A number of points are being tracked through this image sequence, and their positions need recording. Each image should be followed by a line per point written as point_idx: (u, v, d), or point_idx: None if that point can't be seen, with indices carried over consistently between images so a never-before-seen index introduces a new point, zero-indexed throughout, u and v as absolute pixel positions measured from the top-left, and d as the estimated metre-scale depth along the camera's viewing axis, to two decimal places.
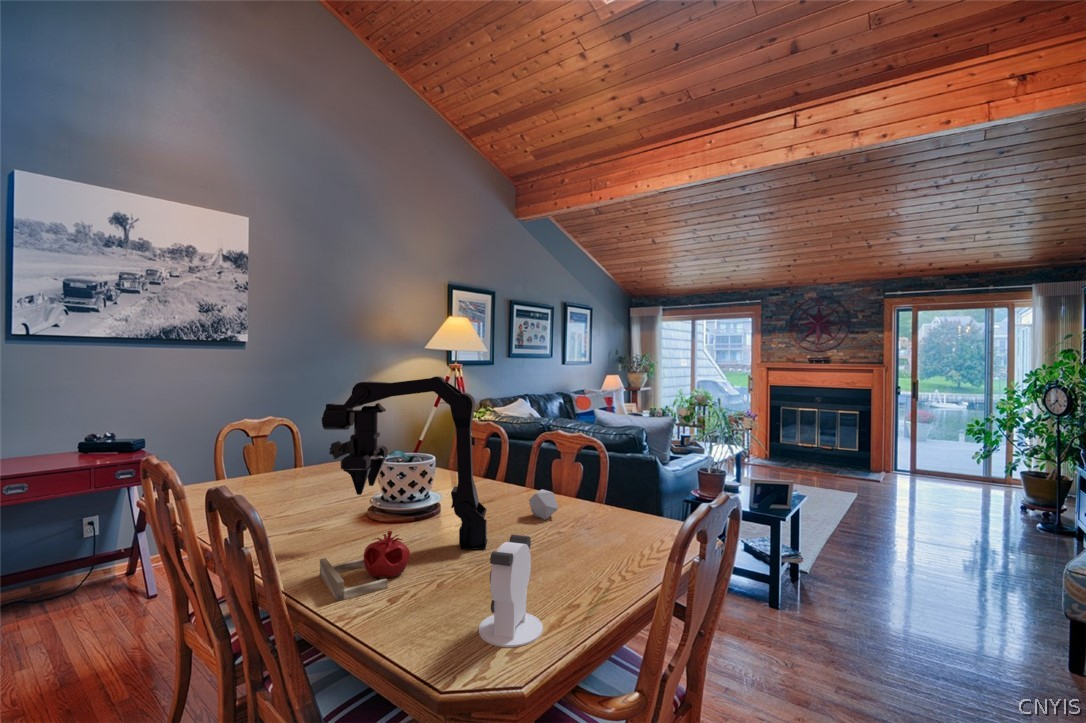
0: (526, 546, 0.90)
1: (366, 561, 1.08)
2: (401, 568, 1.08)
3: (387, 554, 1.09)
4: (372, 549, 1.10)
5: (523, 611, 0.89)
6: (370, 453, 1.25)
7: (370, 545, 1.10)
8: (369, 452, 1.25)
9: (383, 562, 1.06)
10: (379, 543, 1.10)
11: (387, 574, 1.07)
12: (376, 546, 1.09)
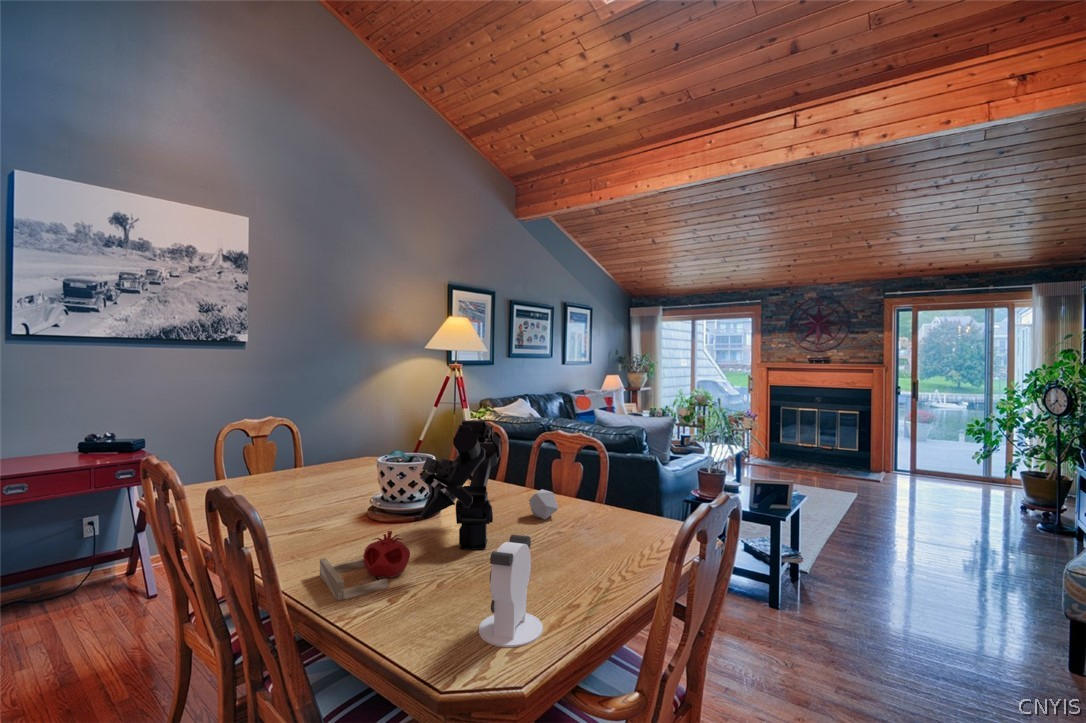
0: (526, 546, 0.90)
1: (366, 561, 1.08)
2: (401, 568, 1.08)
3: (387, 554, 1.09)
4: (372, 549, 1.10)
5: (523, 611, 0.89)
6: None
7: (370, 545, 1.10)
8: None
9: (383, 562, 1.06)
10: (379, 543, 1.10)
11: (387, 574, 1.07)
12: (376, 546, 1.09)
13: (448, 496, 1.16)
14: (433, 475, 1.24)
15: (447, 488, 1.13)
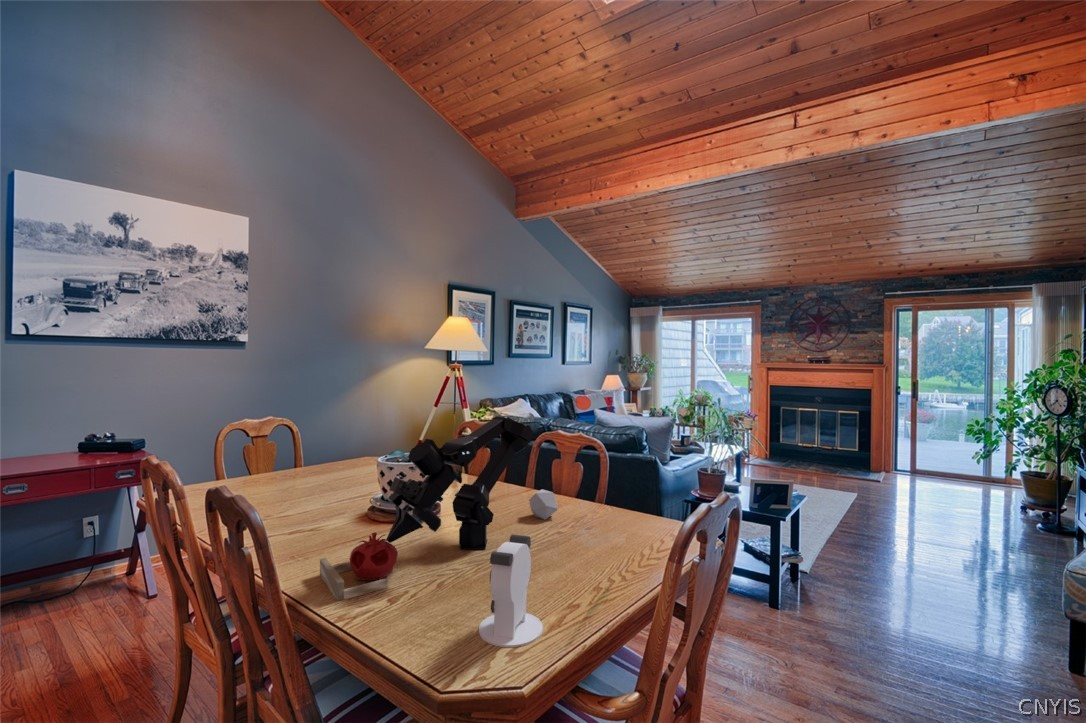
0: (526, 546, 0.90)
1: (352, 565, 1.06)
2: (388, 568, 1.07)
3: (373, 556, 1.07)
4: (358, 552, 1.09)
5: (523, 611, 0.89)
6: None
7: (355, 548, 1.08)
8: None
9: (369, 565, 1.04)
10: (364, 546, 1.08)
11: (375, 577, 1.05)
12: (361, 549, 1.07)
13: (415, 519, 1.11)
14: (402, 496, 1.19)
15: (414, 511, 1.08)
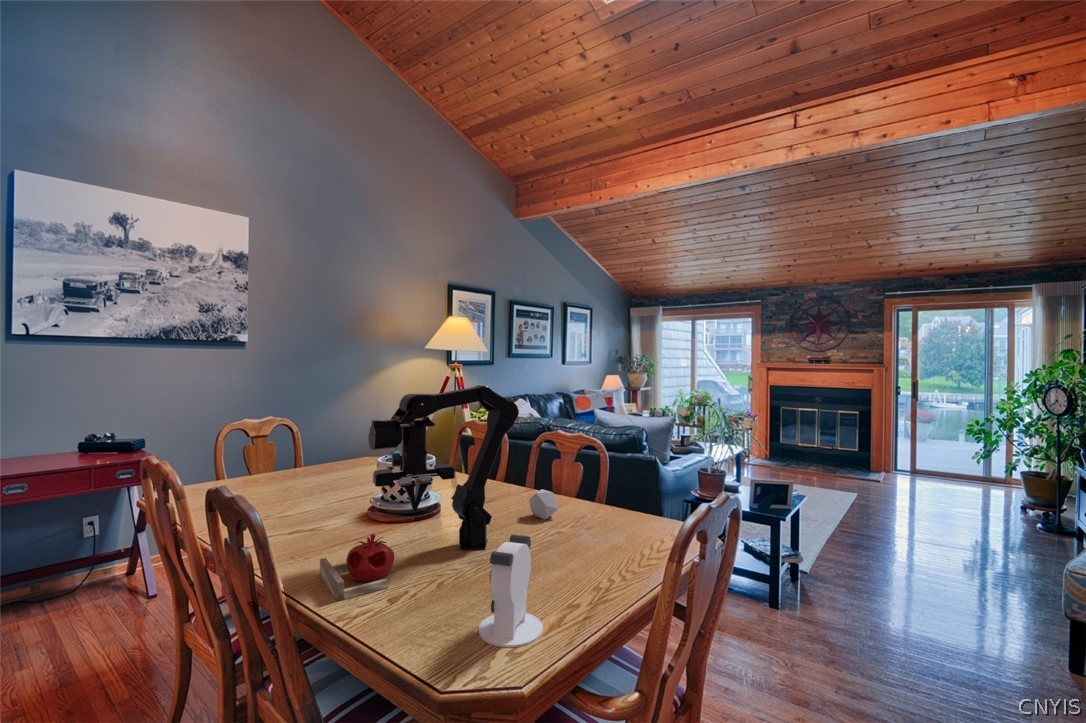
0: (526, 546, 0.90)
1: (349, 565, 1.06)
2: (385, 571, 1.06)
3: (370, 558, 1.07)
4: (355, 553, 1.08)
5: (523, 611, 0.89)
6: (405, 471, 1.16)
7: (353, 549, 1.08)
8: (405, 470, 1.17)
9: (366, 566, 1.04)
10: (362, 547, 1.08)
11: (371, 579, 1.05)
12: (358, 550, 1.07)
13: (399, 482, 1.18)
14: (434, 466, 1.23)
15: None
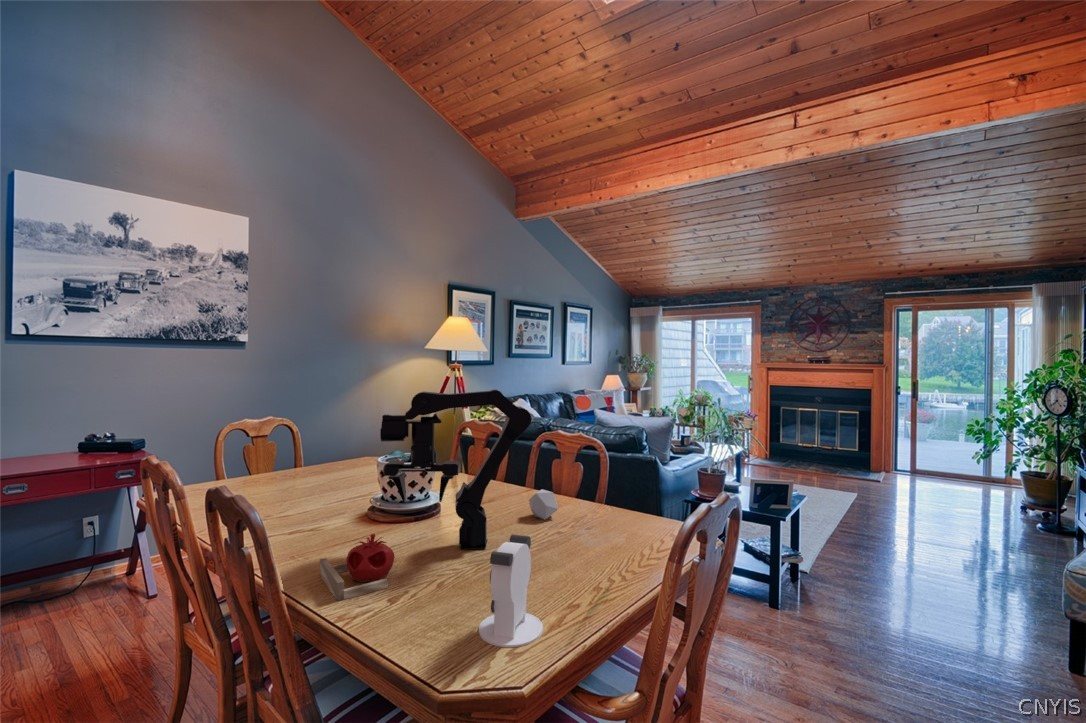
0: (526, 546, 0.90)
1: (349, 565, 1.06)
2: (385, 571, 1.06)
3: (370, 558, 1.07)
4: (355, 553, 1.08)
5: (523, 611, 0.89)
6: None
7: (353, 549, 1.08)
8: None
9: (366, 566, 1.04)
10: (362, 547, 1.08)
11: (371, 579, 1.05)
12: (358, 550, 1.07)
13: None
14: None
15: None
